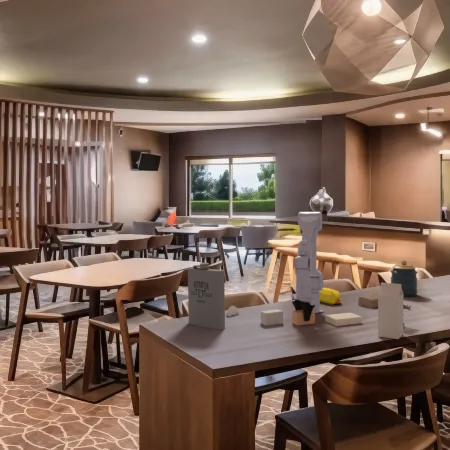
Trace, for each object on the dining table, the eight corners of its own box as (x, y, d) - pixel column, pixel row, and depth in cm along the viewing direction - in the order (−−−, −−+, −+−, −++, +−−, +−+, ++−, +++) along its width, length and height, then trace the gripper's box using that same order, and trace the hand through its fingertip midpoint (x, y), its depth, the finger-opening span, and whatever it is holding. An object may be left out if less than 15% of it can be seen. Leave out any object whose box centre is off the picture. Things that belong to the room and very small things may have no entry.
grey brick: (260, 323, 200) (260, 311, 200) (278, 321, 204) (277, 309, 203) (265, 325, 197) (265, 313, 196) (283, 323, 200) (283, 311, 200)
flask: (185, 323, 201) (184, 261, 200) (193, 321, 205) (192, 260, 204) (219, 330, 191) (218, 264, 189) (226, 327, 194) (225, 263, 193)
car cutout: (233, 313, 220) (233, 303, 220) (243, 316, 215) (243, 306, 215) (206, 319, 211) (205, 308, 211) (215, 322, 206) (215, 311, 205)
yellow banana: (334, 306, 231) (345, 304, 235) (334, 292, 230) (345, 290, 235) (306, 300, 245) (317, 298, 250) (306, 286, 245) (317, 285, 250)
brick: (371, 308, 225) (371, 298, 225) (356, 305, 232) (356, 295, 232) (394, 304, 235) (394, 294, 235) (379, 301, 242) (379, 291, 242)
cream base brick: (325, 322, 202) (325, 315, 202) (350, 319, 206) (350, 312, 206) (335, 327, 195) (335, 319, 195) (362, 324, 199) (362, 316, 199)
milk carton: (398, 339, 175) (398, 285, 174) (378, 337, 178) (378, 284, 177) (403, 335, 181) (403, 282, 180) (383, 332, 184) (383, 281, 184)
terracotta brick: (292, 323, 200) (292, 310, 199) (309, 321, 203) (309, 308, 203) (297, 325, 196) (297, 312, 196) (314, 323, 199) (314, 310, 199)
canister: (395, 291, 264) (395, 258, 263) (420, 294, 257) (420, 259, 256) (387, 295, 254) (387, 260, 253) (413, 298, 246) (413, 262, 245)
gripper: (285, 284, 204) (285, 317, 204) (305, 289, 190) (305, 324, 191) (299, 282, 207) (299, 315, 207) (320, 288, 193) (320, 322, 194)
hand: (303, 319), depth 199 cm, fingers closed on terracotta brick, 4 cm apart
